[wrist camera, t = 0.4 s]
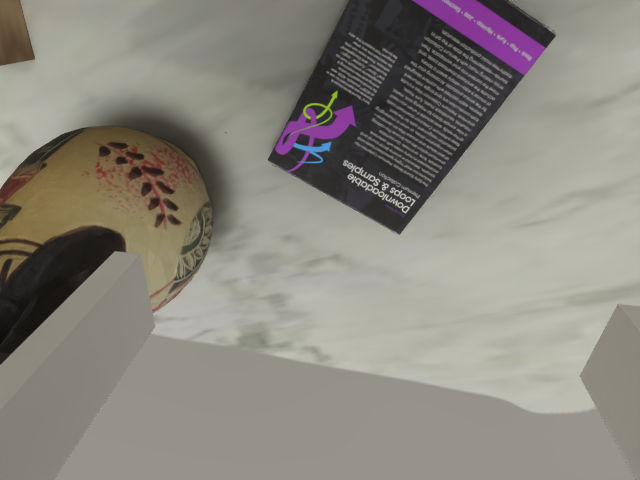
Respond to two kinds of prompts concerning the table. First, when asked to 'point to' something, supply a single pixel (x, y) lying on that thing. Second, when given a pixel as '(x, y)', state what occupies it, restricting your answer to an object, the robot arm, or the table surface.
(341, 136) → the box
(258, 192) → the table surface
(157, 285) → the ceramic jug
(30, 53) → the shelf
